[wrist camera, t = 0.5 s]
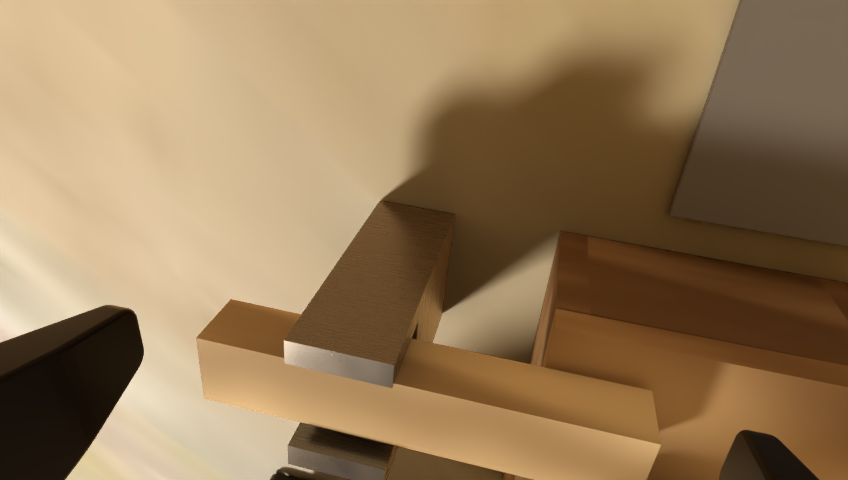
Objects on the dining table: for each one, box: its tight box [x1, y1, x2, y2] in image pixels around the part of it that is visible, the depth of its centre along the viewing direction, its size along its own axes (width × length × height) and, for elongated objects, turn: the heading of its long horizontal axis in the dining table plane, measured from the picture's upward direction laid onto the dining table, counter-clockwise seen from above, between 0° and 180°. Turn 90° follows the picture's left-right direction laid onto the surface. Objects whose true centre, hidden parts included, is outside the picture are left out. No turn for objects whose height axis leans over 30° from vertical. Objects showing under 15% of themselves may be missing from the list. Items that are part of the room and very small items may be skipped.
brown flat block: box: [502, 231, 848, 480], centre depth 22 cm, size 14×10×5 cm
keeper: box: [284, 201, 455, 480], centre depth 20 cm, size 5×3×9 cm, turn 175°
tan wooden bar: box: [196, 299, 661, 480], centre depth 17 cm, size 2×13×2 cm, turn 85°
